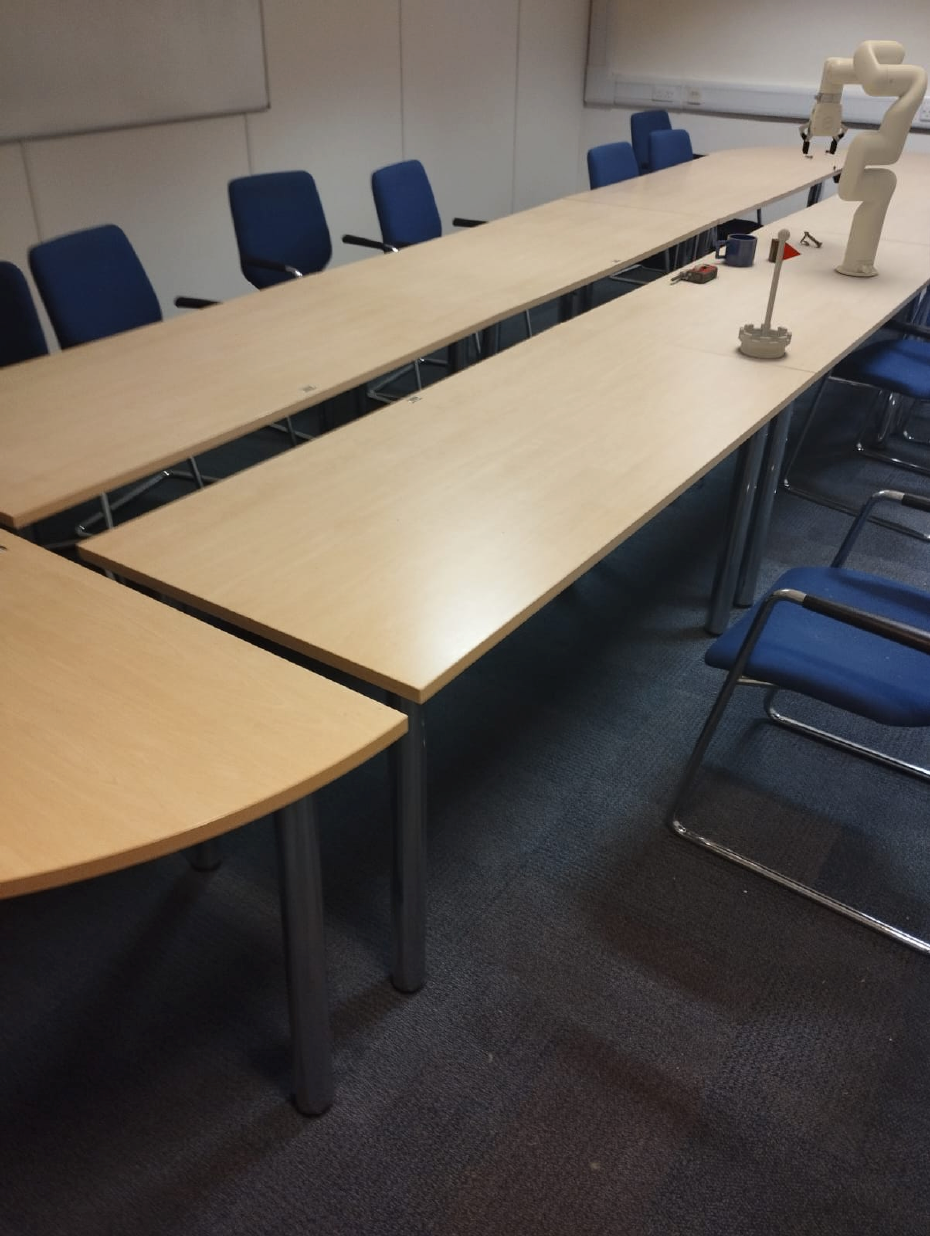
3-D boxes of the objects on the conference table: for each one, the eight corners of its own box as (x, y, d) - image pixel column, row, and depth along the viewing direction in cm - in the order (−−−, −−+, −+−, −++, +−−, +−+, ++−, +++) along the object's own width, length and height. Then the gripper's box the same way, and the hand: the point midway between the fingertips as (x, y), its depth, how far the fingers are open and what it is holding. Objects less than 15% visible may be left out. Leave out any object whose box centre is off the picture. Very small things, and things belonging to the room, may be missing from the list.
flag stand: (727, 352, 250) (748, 229, 234) (748, 340, 259) (770, 220, 243) (775, 363, 244) (800, 237, 227) (796, 350, 252) (821, 228, 236)
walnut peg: (781, 262, 333) (785, 240, 329) (771, 262, 333) (775, 240, 329) (777, 259, 336) (781, 238, 332) (768, 259, 335) (771, 238, 332)
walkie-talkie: (694, 271, 320) (667, 284, 306) (696, 257, 317) (669, 269, 303) (719, 275, 315) (693, 288, 302) (721, 261, 313) (695, 274, 299)
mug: (747, 259, 335) (751, 233, 330) (757, 266, 327) (762, 240, 322) (709, 260, 334) (713, 233, 329) (718, 267, 325) (722, 240, 321)
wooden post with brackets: (799, 240, 358) (806, 229, 354) (816, 253, 355) (823, 242, 352) (797, 240, 357) (804, 229, 353) (813, 253, 354) (820, 242, 351)
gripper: (808, 99, 329) (798, 155, 338) (858, 100, 330) (846, 155, 340) (800, 97, 335) (790, 152, 345) (849, 98, 337) (837, 152, 346)
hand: (818, 153), depth 342 cm, fingers open, 9 cm apart
